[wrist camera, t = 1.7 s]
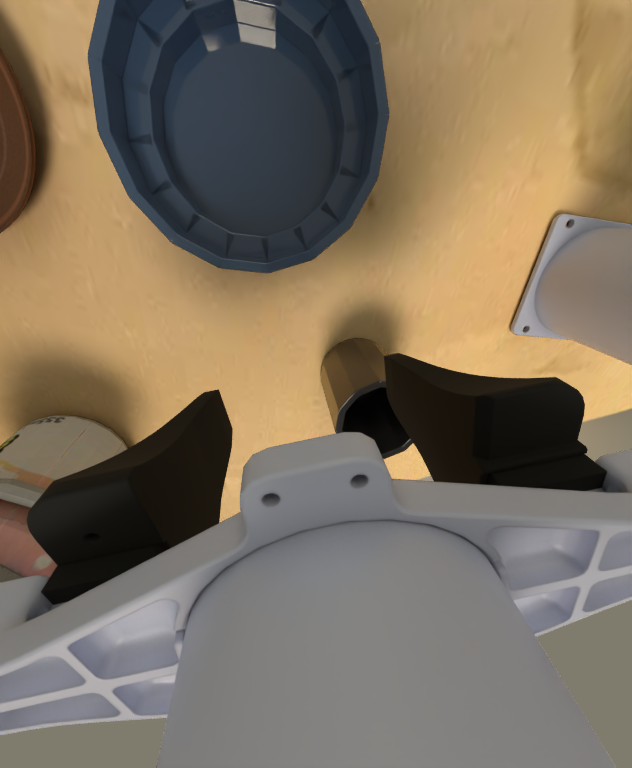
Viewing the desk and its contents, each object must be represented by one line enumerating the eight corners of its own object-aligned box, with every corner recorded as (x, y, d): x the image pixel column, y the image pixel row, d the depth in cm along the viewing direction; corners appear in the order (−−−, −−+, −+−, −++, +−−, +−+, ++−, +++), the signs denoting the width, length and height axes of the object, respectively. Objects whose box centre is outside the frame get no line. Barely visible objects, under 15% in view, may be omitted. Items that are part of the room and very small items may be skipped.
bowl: (383, 16, 16) (418, -50, 12) (344, 270, 21) (359, 283, 17) (118, -48, 14) (58, -150, 10) (146, 248, 20) (114, 256, 16)
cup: (395, 340, 24) (437, 384, 18) (380, 402, 26) (413, 460, 20) (325, 335, 23) (344, 378, 17) (316, 399, 26) (330, 458, 19)
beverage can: (38, 376, 22) (-175, 523, 12) (161, 426, 25) (79, 581, 15) (5, 471, 25) (-188, 655, 15) (118, 506, 28) (24, 682, 18)
